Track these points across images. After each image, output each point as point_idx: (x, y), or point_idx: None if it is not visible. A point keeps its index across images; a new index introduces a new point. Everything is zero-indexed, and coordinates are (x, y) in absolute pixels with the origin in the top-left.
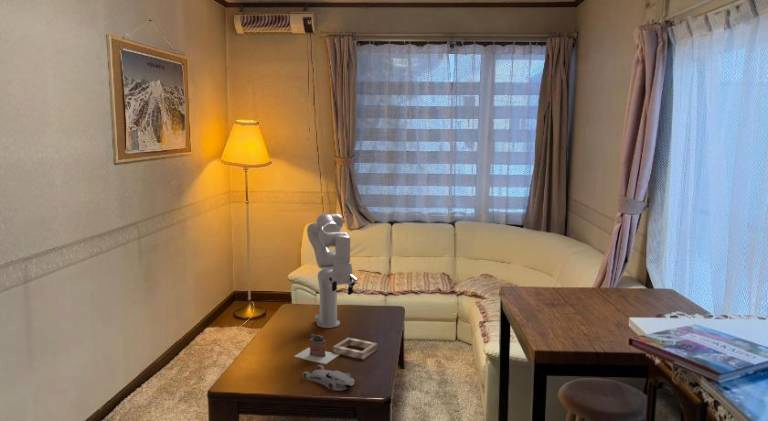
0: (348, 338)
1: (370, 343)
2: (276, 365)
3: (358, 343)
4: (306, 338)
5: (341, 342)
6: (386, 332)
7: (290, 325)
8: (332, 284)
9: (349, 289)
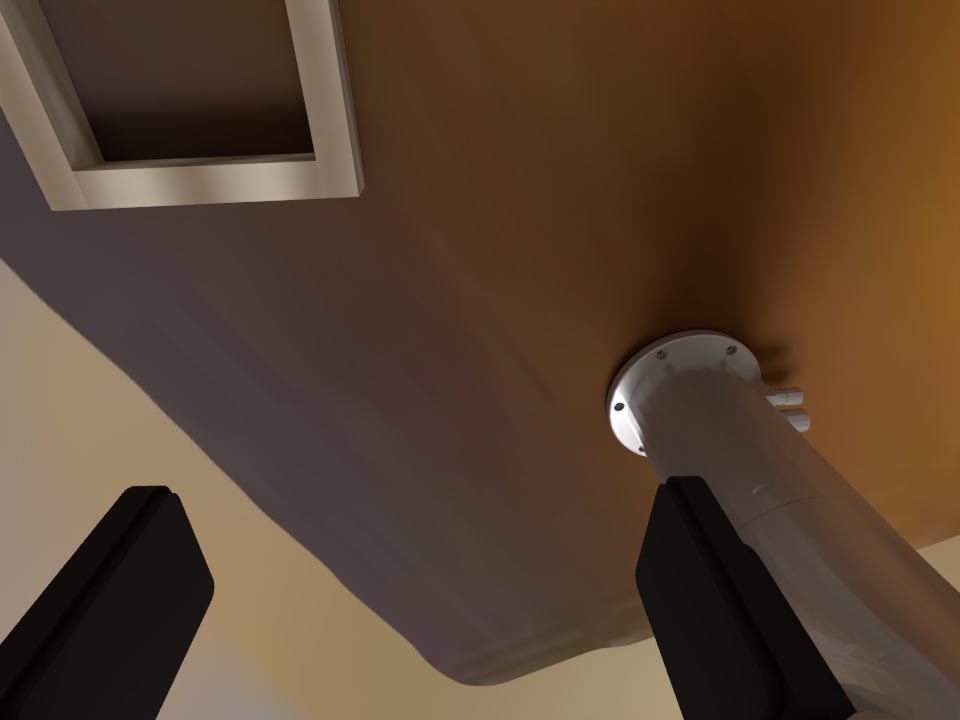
0: (336, 175)
1: (95, 177)
2: None
3: (226, 162)
4: (726, 82)
5: (320, 44)
6: (284, 462)
7: (939, 252)
8: (808, 672)
9: (25, 644)
